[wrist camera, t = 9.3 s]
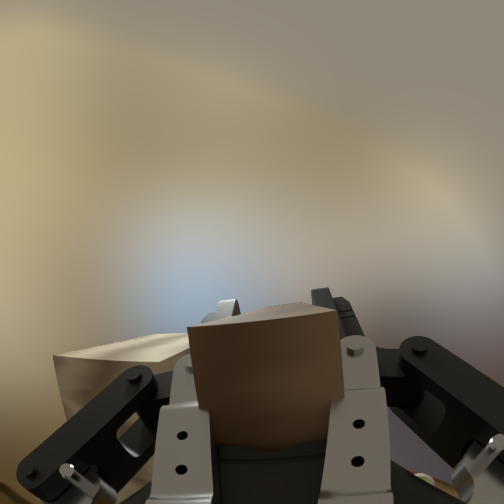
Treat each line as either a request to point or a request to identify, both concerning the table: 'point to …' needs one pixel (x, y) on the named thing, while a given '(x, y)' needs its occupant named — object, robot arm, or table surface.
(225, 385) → the brown block
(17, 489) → the table surface
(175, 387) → the robot arm
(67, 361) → the oak stand
